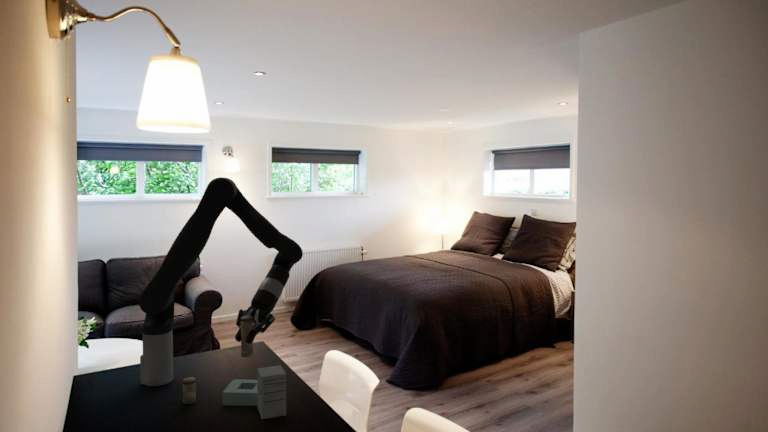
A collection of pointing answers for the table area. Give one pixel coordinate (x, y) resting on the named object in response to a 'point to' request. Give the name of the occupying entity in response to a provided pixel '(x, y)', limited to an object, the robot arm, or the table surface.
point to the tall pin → (245, 329)
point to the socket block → (241, 393)
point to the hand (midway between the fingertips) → (242, 341)
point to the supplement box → (271, 391)
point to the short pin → (189, 390)
